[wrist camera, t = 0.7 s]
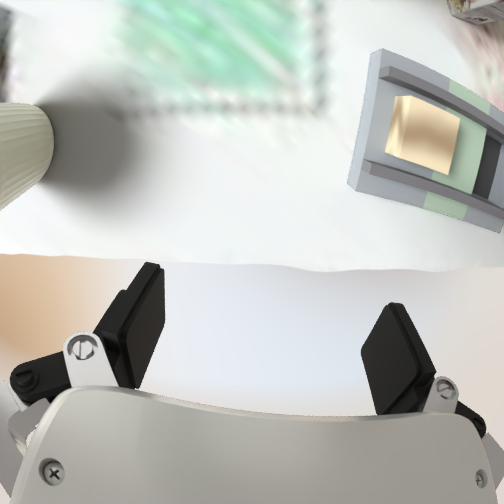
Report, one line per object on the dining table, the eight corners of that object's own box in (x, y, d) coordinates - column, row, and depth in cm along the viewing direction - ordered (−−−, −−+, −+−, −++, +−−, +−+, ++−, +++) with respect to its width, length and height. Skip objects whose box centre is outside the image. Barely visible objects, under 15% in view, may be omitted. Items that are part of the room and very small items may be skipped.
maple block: (395, 96, 25) (411, 95, 22) (442, 115, 25) (460, 118, 22) (384, 151, 29) (399, 157, 25) (431, 167, 29) (447, 175, 25)
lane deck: (370, 53, 26) (392, 43, 20) (510, 126, 27) (538, 134, 20) (346, 182, 35) (363, 198, 28) (486, 223, 35) (510, 241, 29)
